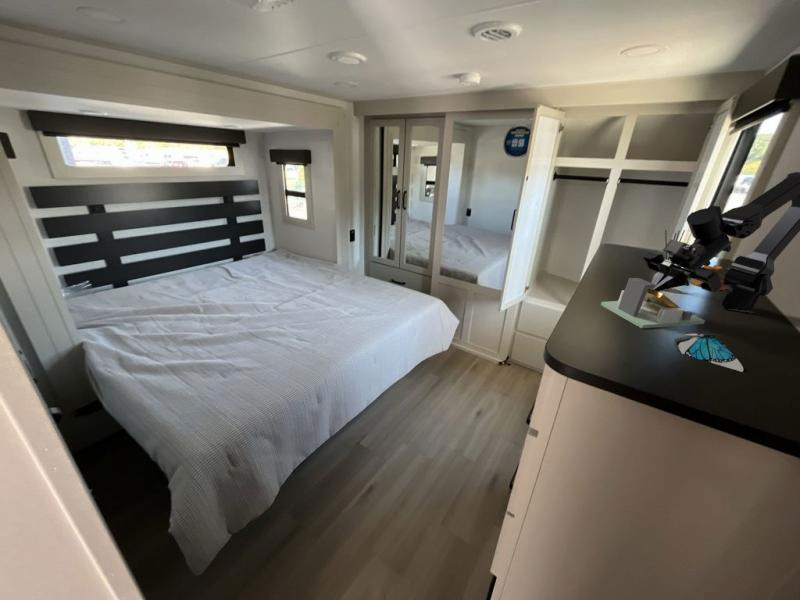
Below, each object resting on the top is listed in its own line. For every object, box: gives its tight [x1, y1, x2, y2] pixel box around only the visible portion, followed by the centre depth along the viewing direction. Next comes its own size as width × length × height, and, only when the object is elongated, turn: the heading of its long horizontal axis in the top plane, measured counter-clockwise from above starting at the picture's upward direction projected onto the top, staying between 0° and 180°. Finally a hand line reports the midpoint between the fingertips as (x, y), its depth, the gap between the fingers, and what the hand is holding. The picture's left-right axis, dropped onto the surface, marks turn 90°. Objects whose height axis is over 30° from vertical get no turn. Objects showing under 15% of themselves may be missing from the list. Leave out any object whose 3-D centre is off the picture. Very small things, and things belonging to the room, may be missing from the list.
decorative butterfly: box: [673, 333, 744, 373], centre depth 71 cm, size 10×6×10 cm
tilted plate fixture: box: [600, 277, 706, 329], centre depth 87 cm, size 20×14×10 cm
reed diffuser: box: [651, 229, 686, 284], centre depth 105 cm, size 10×7×20 cm
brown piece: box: [689, 264, 728, 291], centre depth 112 cm, size 12×12×7 cm
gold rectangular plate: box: [645, 288, 686, 316], centre depth 87 cm, size 1×10×13 cm
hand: (651, 291), depth 86 cm, fingers closed, pressing on gold rectangular plate
